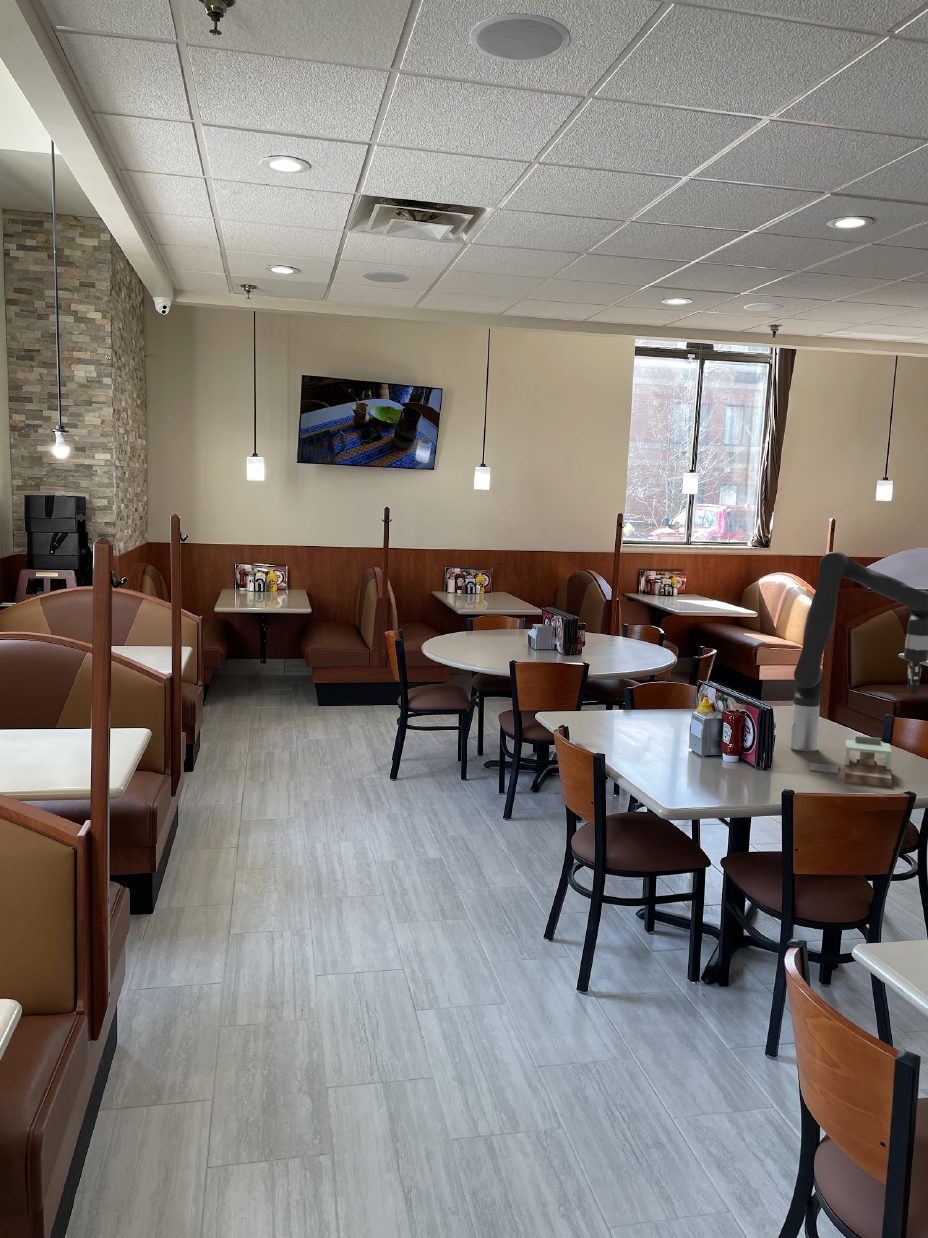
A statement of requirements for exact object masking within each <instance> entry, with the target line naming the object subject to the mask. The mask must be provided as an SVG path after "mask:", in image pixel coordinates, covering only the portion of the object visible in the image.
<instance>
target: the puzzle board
mask: <svg viewBox="0 0 928 1238" xmlns="http://www.w3.org/2000/svg"><path fill="white" fill-rule="evenodd" d="M859 761H860V755H854V754H850V755H849V765H845V758H844V761H843V763H844V767H843V768H844V771H843V772H844V783H850V784H858V785H867V786H876V787H887V788H891V787H892V773H891V768H890V769H886V764H885V757H884V758H882V757H875V760H874V766H873V765H863V764H859Z"/></svg>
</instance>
